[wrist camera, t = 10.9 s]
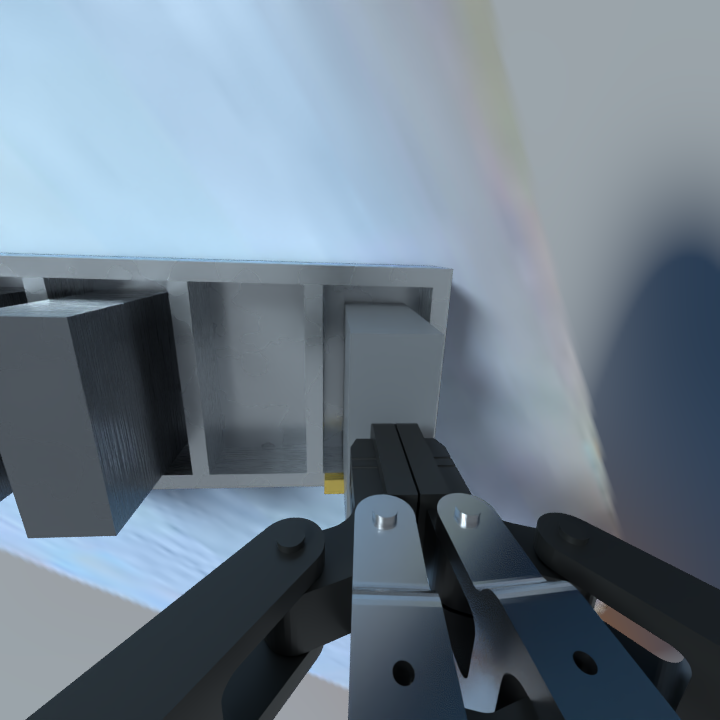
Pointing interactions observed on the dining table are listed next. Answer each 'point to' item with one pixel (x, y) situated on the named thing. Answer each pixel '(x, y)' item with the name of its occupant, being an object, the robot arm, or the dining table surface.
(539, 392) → the dining table surface
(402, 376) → the grey block
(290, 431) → the rack
